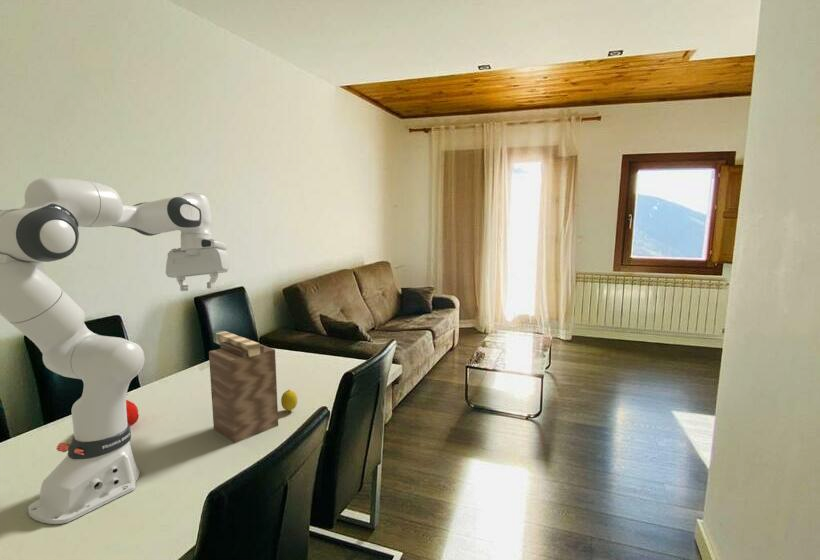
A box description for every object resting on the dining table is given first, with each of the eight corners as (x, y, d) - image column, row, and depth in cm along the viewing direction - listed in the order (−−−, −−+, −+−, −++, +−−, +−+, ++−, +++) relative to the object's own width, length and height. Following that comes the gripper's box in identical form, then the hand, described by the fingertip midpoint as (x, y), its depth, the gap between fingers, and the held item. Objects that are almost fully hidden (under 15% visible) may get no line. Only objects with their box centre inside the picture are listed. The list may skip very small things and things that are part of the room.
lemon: (293, 415, 149) (292, 393, 148) (278, 413, 150) (277, 392, 149) (300, 408, 154) (299, 387, 153) (286, 407, 155) (285, 386, 154)
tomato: (78, 439, 132) (75, 412, 131) (108, 420, 144) (106, 396, 143) (121, 440, 131) (119, 413, 130) (148, 421, 144) (146, 396, 143)
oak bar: (260, 354, 133) (259, 343, 132) (249, 356, 130) (249, 345, 130) (223, 340, 148) (223, 330, 148) (213, 342, 146) (213, 332, 145)
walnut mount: (234, 443, 130) (229, 354, 126) (213, 428, 139) (208, 345, 135) (278, 425, 141) (274, 343, 137) (256, 413, 150) (252, 335, 147)
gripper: (160, 247, 133) (160, 291, 131) (218, 240, 129) (219, 285, 127) (175, 250, 139) (176, 293, 138) (231, 243, 135) (232, 287, 134)
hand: (197, 289), depth 132 cm, fingers open, 8 cm apart
